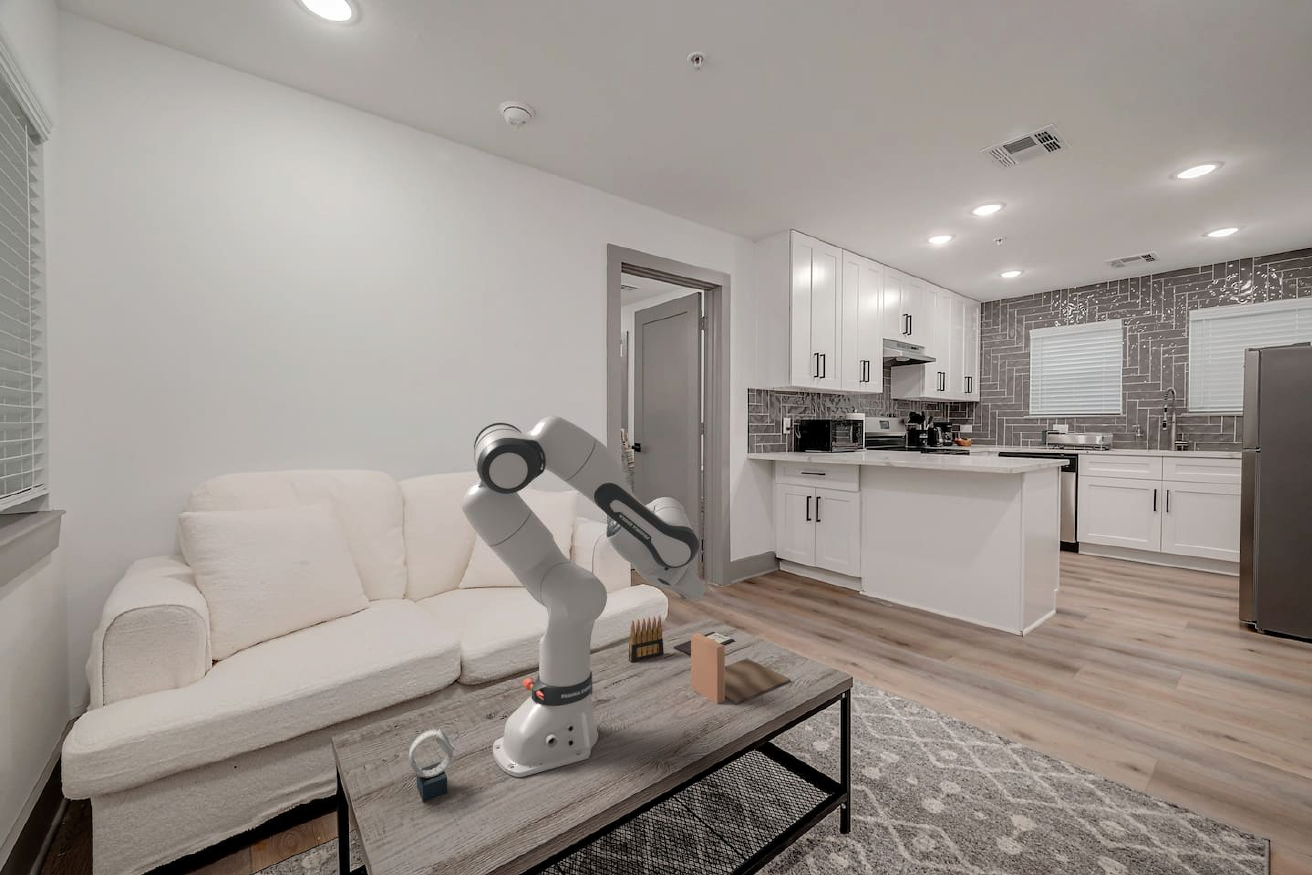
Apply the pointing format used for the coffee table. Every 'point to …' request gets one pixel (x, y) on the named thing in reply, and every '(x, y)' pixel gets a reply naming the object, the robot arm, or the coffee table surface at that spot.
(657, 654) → the ammunition clip
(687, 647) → the chocolate bar
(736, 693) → the walnut board
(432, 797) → the watch
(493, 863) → the coffee table surface
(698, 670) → the terracotta tile
